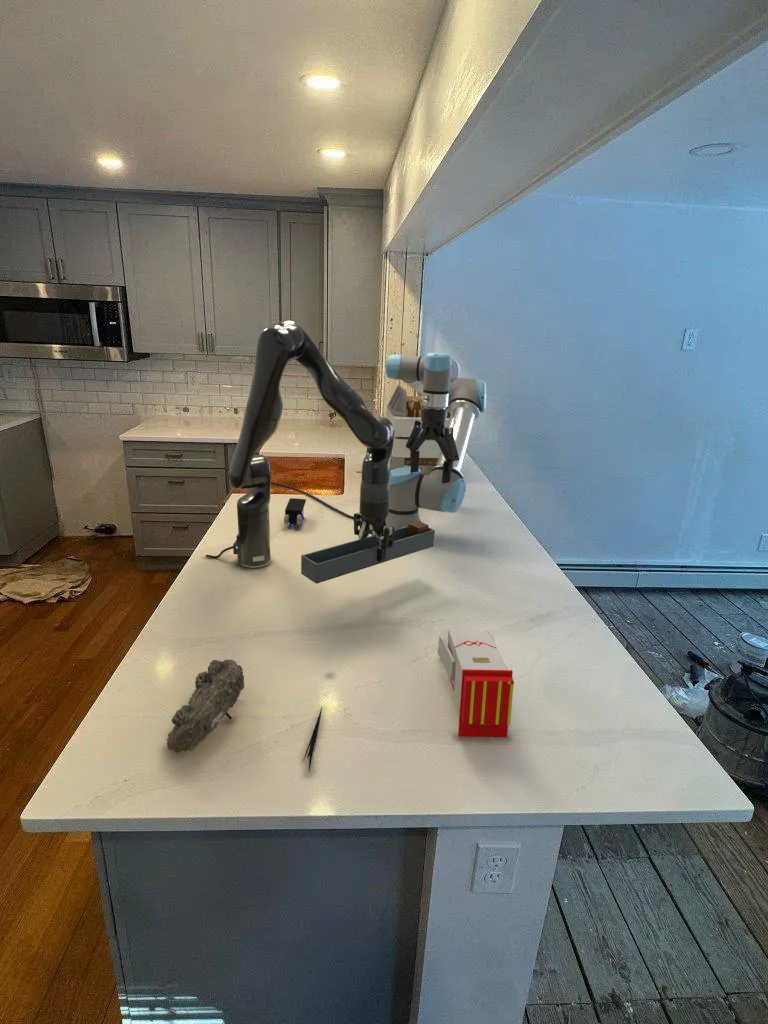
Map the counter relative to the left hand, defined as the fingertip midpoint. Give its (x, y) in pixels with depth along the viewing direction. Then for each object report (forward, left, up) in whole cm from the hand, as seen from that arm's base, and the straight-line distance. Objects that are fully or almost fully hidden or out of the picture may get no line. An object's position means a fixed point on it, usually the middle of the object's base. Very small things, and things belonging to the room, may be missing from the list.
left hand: (372, 556), depth 150 cm
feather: (-7, -48, -13) cm, 51 cm away
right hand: (+16, +30, +14) cm, 37 cm away
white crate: (+18, +129, -13) cm, 131 cm away
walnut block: (+12, +11, 0) cm, 16 cm away
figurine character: (-30, +54, -13) cm, 63 cm away
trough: (0, 0, -1) cm, 1 cm away
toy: (+23, -38, -13) cm, 46 cm away
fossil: (-28, -49, -13) cm, 58 cm away
